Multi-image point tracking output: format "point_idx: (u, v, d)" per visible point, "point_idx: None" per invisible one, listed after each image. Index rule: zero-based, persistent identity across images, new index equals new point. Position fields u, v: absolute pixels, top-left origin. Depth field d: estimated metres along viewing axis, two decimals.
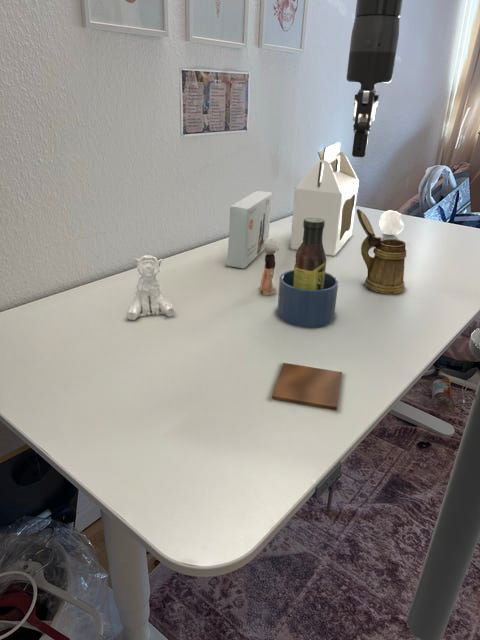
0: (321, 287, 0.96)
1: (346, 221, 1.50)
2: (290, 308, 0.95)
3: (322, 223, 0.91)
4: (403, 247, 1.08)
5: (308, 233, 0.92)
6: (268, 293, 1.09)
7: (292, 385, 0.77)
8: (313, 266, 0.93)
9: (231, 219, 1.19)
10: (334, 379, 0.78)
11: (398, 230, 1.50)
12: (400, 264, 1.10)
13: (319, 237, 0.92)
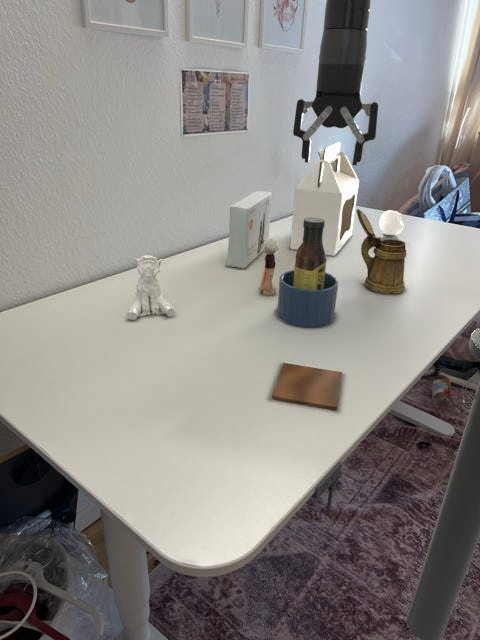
0: (321, 287, 0.96)
1: (346, 221, 1.50)
2: (290, 308, 0.95)
3: (322, 223, 0.91)
4: (403, 247, 1.08)
5: (308, 233, 0.92)
6: (268, 293, 1.09)
7: (292, 385, 0.77)
8: (313, 266, 0.93)
9: (231, 219, 1.19)
10: (334, 379, 0.78)
11: (398, 230, 1.50)
12: (400, 264, 1.10)
13: (319, 237, 0.92)
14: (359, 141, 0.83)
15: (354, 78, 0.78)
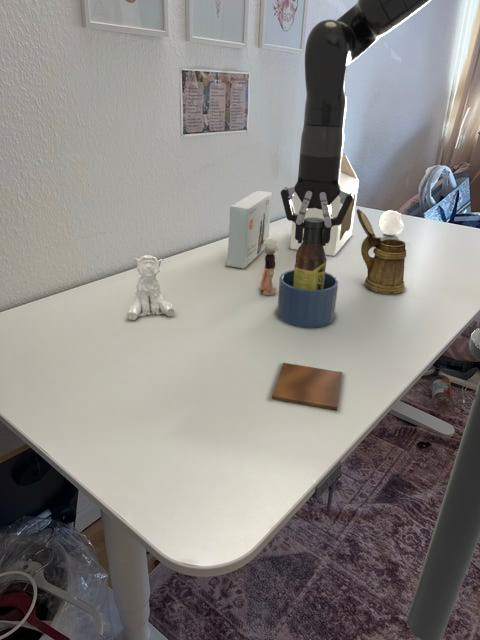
0: (321, 287, 0.96)
1: (346, 221, 1.50)
2: (290, 308, 0.95)
3: (322, 223, 0.91)
4: (403, 247, 1.08)
5: (308, 233, 0.92)
6: (268, 293, 1.09)
7: (292, 385, 0.77)
8: (313, 266, 0.93)
9: (231, 219, 1.19)
10: (334, 379, 0.78)
11: (398, 230, 1.50)
12: (400, 264, 1.10)
13: (319, 237, 0.92)
14: (327, 225, 0.90)
15: (331, 168, 0.84)
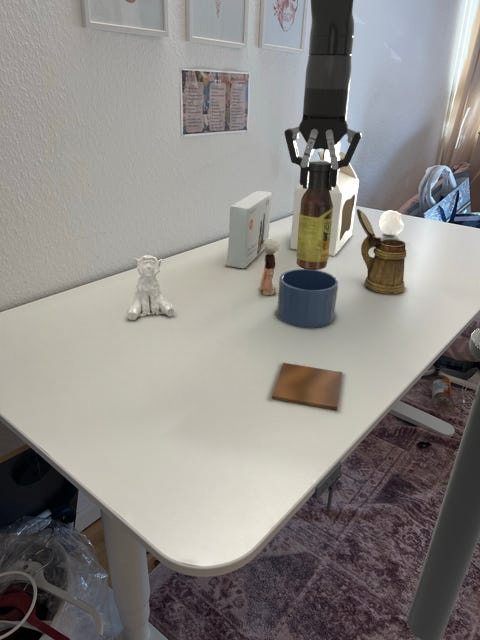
0: (328, 236, 0.91)
1: (346, 221, 1.50)
2: (290, 308, 0.95)
3: (328, 165, 0.86)
4: (403, 247, 1.08)
5: (314, 177, 0.87)
6: (268, 293, 1.09)
7: (292, 385, 0.77)
8: (319, 213, 0.88)
9: (231, 219, 1.19)
10: (334, 379, 0.78)
11: (398, 230, 1.50)
12: (400, 264, 1.10)
13: (326, 181, 0.87)
14: (333, 167, 0.85)
15: (338, 102, 0.79)
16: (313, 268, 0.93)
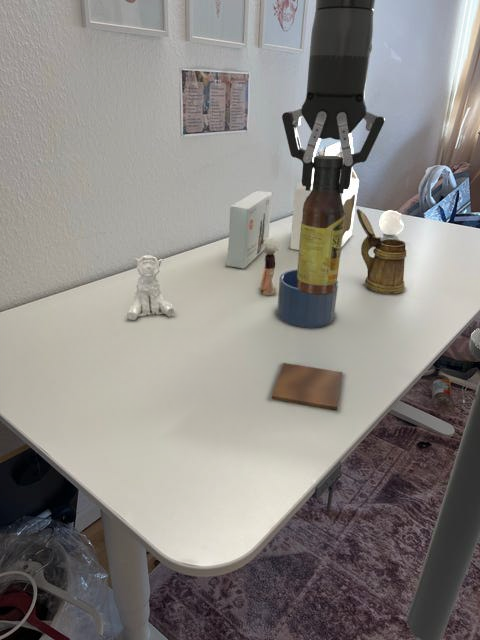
0: (337, 252, 0.70)
1: (346, 221, 1.50)
2: (290, 308, 0.95)
3: (340, 161, 0.65)
4: (403, 247, 1.08)
5: (320, 175, 0.66)
6: (268, 293, 1.09)
7: (292, 385, 0.77)
8: (327, 222, 0.67)
9: (231, 219, 1.19)
10: (334, 379, 0.78)
11: (398, 230, 1.50)
12: (400, 264, 1.10)
13: (336, 181, 0.67)
14: (346, 163, 0.65)
15: (354, 74, 0.58)
16: (318, 293, 0.72)
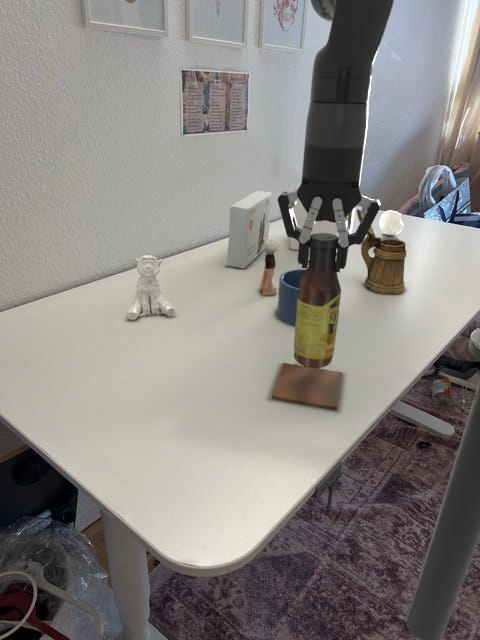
0: (334, 327, 0.70)
1: None
2: (290, 308, 0.95)
3: (336, 241, 0.65)
4: (403, 247, 1.08)
5: (316, 255, 0.66)
6: (268, 293, 1.09)
7: (292, 385, 0.77)
8: (323, 301, 0.67)
9: (231, 219, 1.19)
10: (334, 379, 0.78)
11: (398, 230, 1.50)
12: (400, 264, 1.10)
13: (332, 260, 0.67)
14: (342, 245, 0.65)
15: (349, 165, 0.58)
16: (315, 366, 0.72)
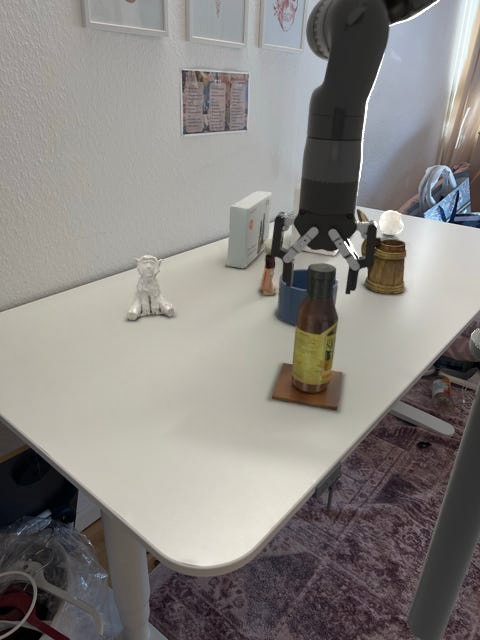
0: (331, 354, 0.72)
1: None
2: (290, 308, 0.95)
3: (333, 272, 0.68)
4: (403, 247, 1.08)
5: (314, 285, 0.68)
6: (268, 293, 1.09)
7: (292, 385, 0.77)
8: (321, 329, 0.70)
9: (231, 219, 1.19)
10: (334, 379, 0.78)
11: (398, 230, 1.50)
12: (400, 264, 1.10)
13: (329, 290, 0.69)
14: (353, 268, 0.66)
15: (345, 198, 0.60)
16: (312, 391, 0.74)
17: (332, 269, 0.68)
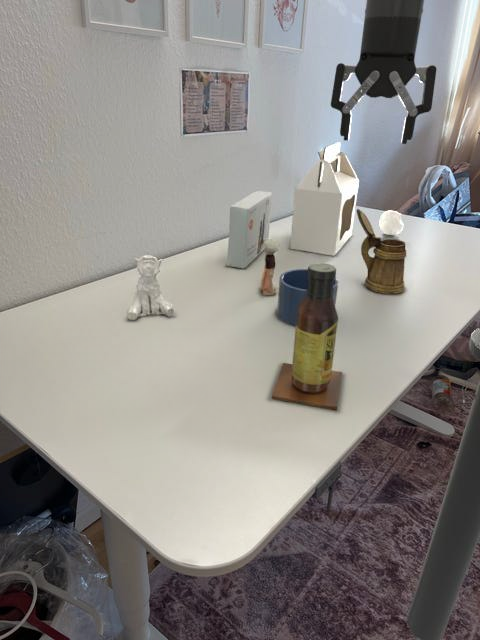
0: (331, 354, 0.72)
1: (346, 221, 1.50)
2: (290, 308, 0.95)
3: (333, 272, 0.68)
4: (403, 247, 1.08)
5: (314, 285, 0.68)
6: (268, 293, 1.09)
7: (292, 385, 0.77)
8: (321, 329, 0.70)
9: (231, 219, 1.19)
10: (334, 379, 0.78)
11: (398, 230, 1.50)
12: (400, 264, 1.10)
13: (329, 290, 0.69)
14: (411, 114, 0.69)
15: (408, 34, 0.64)
16: (312, 391, 0.74)
17: (332, 269, 0.68)
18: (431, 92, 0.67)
